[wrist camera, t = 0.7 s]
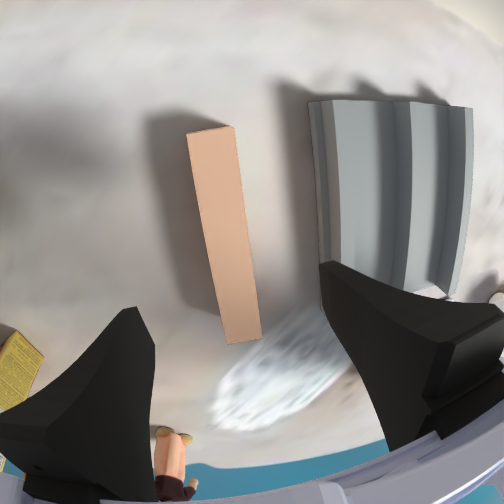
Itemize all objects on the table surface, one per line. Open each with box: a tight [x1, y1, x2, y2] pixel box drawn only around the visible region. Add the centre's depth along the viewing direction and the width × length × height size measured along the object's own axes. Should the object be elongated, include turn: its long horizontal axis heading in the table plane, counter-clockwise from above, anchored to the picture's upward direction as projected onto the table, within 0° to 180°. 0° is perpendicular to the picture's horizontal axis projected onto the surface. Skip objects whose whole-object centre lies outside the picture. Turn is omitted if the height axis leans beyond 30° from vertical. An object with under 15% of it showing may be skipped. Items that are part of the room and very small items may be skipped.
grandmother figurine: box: [154, 427, 198, 502], centre depth 24 cm, size 8×4×13 cm, turn 60°
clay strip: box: [186, 126, 262, 344], centre depth 19 cm, size 14×2×4 cm, turn 7°
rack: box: [308, 100, 474, 316], centre depth 20 cm, size 16×13×3 cm
